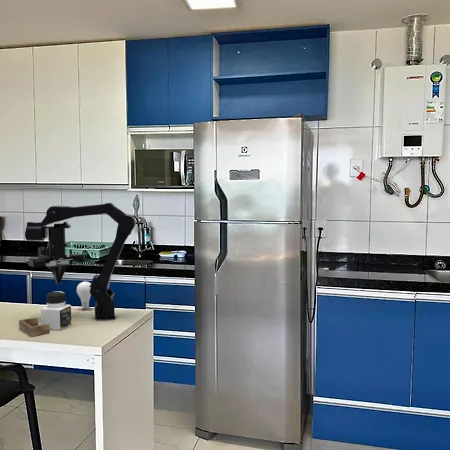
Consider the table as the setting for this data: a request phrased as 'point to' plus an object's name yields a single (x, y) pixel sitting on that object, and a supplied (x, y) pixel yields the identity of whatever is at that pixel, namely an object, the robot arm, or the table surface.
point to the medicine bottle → (56, 311)
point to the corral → (33, 327)
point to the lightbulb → (84, 293)
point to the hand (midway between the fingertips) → (58, 283)
